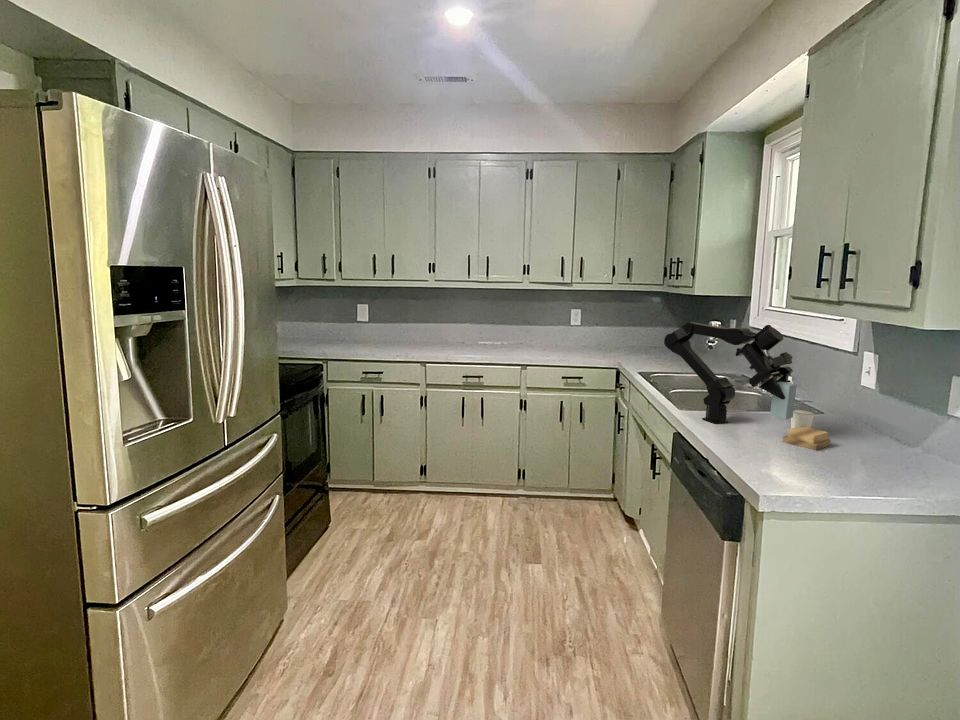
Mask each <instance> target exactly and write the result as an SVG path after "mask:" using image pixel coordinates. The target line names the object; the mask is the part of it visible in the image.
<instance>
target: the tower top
mask: <svg viewBox="0 0 960 720" xmlns="http://www.w3.org/2000/svg"><path fill="white" fill-rule="evenodd" d="M787 433H788V434H787V435H788V437H790V438H794V439H798V440H801V441H805V442H809V443H813V444H814V443H818V442H822V441H825V440H827V439H829V438H828V436H829V432H828V431H825V430H820V429H816V428H812V427H811V428H808V427H804V426H801V427H797V428H792V429H791V428H790V429H788V432H787Z"/></svg>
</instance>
